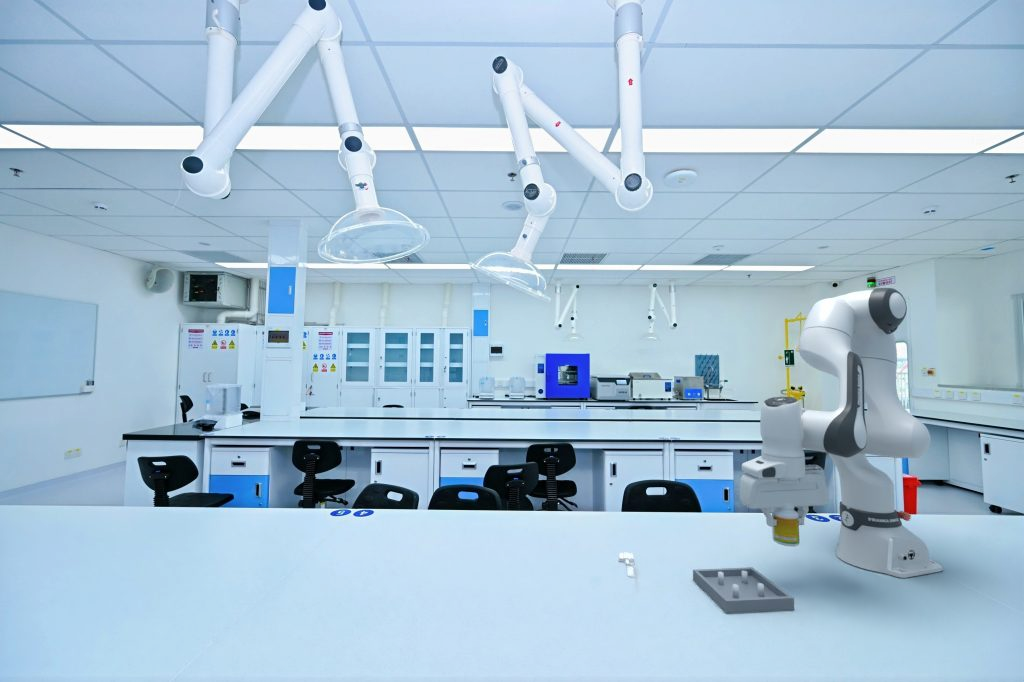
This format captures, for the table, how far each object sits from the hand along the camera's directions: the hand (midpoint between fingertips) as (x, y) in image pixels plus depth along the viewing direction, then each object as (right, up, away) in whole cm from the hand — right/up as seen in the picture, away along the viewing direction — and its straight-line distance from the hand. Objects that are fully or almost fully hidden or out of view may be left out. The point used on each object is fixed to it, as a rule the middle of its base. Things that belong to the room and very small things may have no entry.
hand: (785, 525), depth 104 cm
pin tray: (-13, -14, -5) cm, 20 cm away
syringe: (-35, -15, +5) cm, 38 cm away
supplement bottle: (0, -4, 0) cm, 4 cm away
